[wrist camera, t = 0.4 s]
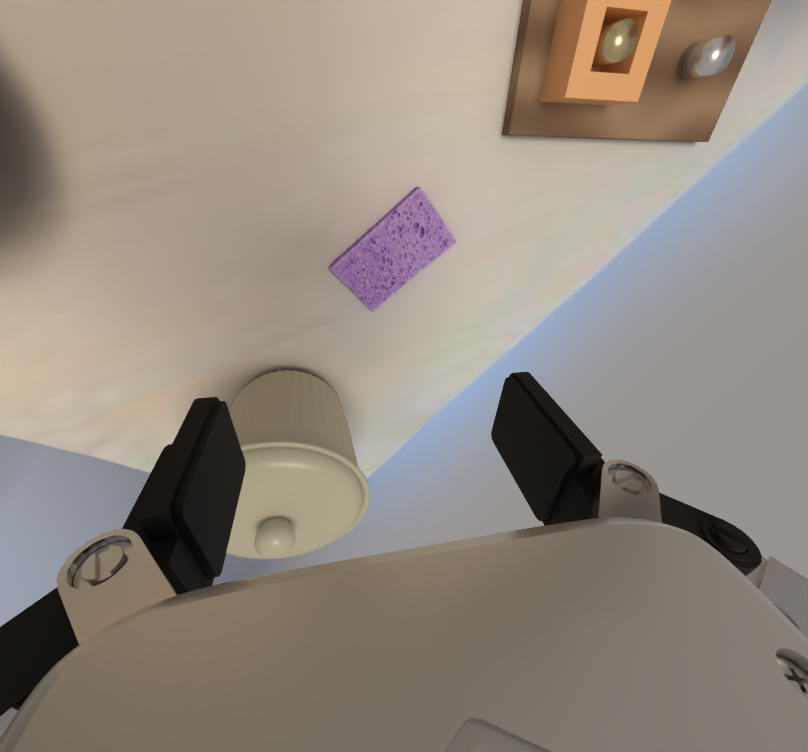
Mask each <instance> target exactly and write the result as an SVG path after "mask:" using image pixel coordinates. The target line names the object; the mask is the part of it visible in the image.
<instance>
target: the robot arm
mask: <svg viewBox="0 0 808 752" xmlns="http://www.w3.org/2000/svg"><path fill="white" fill-rule="evenodd" d="M491 436H492V440H493V442H494V444H495V446H496V447H497V449H498V451H499V453H500V455H501V456H502V458H503V460H504V462H505V463H506V465H507V467H508V469H509V470H510V472H511V474H512V476H513V478H514V479H515V481H516V483H517V485H518V486H519V488H520V490H521V492H522V494H523V495H524V497H525V499H526V501H527V502H528V504H529V506H530V508H531V509H532V511H533V513H534V515H535V516H536V518H537V519H538V520H539V521H543V523H544V525H545V526H540V527H534V528H527V529H521V530H516V531H510V532H504V533H498V534H492V535H486V536H480V537H475V538H468V539H463V540H457V541H452V542H445V543H439V544H434V545H428V546H422V547H417V548H411V549H406V550H399V551H394V552H388V553H382V554H377V555H371V556H366V557H360V558H354V559H349V560H343V561H338V562H332V563H327V564H321V565H315V566H310V567H305V568H299V569H294V570H288V571H282V572H277V573H272V574H267V575H262V576H257V577H252V578H247V579H242V580H237V581H232V582H226V583H222V584H218V585H214V586H212V584H213V580H214V577H218V576H220V574H221V572H222V568H223V564H224V560H225V556H226V551H227V547H228V543H229V539H230V534H231V530H232V526H233V522H234V517H235V513H236V509H237V505H238V500H239V496H240V492H241V488H242V483H243V479H244V475H245V470H246V463H245V458H244V455H243V452H242V449H241V446H240V443H239V440H238V437H237V434H236V431H235V428H234V425H233V422H232V419H231V416H230V413H229V410H228V407H227V404H226V402H225V401H219V399H218V398H217V397H210V398H198V399H195V400H194V402H193V404H192V406H191V408H190V410H189V412H188V414H187V416H186V418H185V420H184V422H183V424H182V426H181V428H180V430H179V432H178V434H177V436H176V438H175V440H174V442H173V444H170V445H167V446H166V447H165V448H164V449H163V451H162V453H161V455H160V456H159V458H158V460H157V462H156V464H155V466H154V468H153V470H152V472H151V474H150V476H149V478H148V480H147V482H146V483H145V485H144V487H143V490H142V491H141V493H140V495H139V497H138V499H137V501H136V503H135V505H134V507H133V509H132V510H131V512H130V515H129V516H128V518H127V520H126V522H125V524H124V526H123V528H122V529H119V530H113V531H109V532H106V533H103V534H101V535H99V536H97V537H95V538H93V539H91V540H89V541H88V542H86V543H85V544H84V545H82V546H81V547H79V548H78V549H77V550H76V551H75V552H74V553H73V554H72V555H71V556H70V557H69V558H68V559H67V561H66V562H65V563H64V565H63V566H62V568H61V569H60V572H59V574H58V577H57V588H56V589H54V590H53V591H51V592H50V593H48V594H47V595H46V596H44V597H43V598H41V599H40V600H38V601H37V602H35V603H34V604H33V605H31V606H30V607H28V608H27V609H25V610H24V611H23V612H21V613H20V614H18V615H17V616H15V617H14V618H13V619H11V620H10V621H8V622H7V623H5V624H4V625H2V626H1V627H0V752H808V579H807V578H805V577H804V576H802V575H800V574H799V573H797V572H795V571H794V570H792V569H790V568H789V567H787V566H786V565H784V564H782V563H780V562H779V561H777V560H776V559H774V558H773V557H771V556H770V557H768V558H767V559H765V558H763V557H762V556H761V554H760V551H759V549H758V547H757V546H756V545H755V543H754V542H753V541H752V540H751V539H750V538H749V537H748V536H747V535H746V534H745V533H744V532H743V531H741V530H740V529H738V528H737V527H735V526H734V525H732V524H730V523H728V522H726V521H724V520H722V519H720V518H717V517H715V516H713V515H710V514H708V513H706V512H703V511H701V510H699V509H696V508H694V507H691V506H689V505H687V504H685V503H682V502H680V501H677V500H675V499H673V498H670V497H668V496H666V495H664V494H661V493H659V489H658V486H657V483H656V482H655V480H654V479H653V477H651V476H650V475H649V474H648V473H647V472H646V471H645V470H643V469H642V468H640V467H639V466H637V465H635V464H633V463H630V462H627V461H623V460H609V461H607V462H606V463H605V462H604V460H603V459H602V458H601V456H602V454H601V453H600V452H599V451H598V449H597V448H596V447H595V446H594V445H593V444H592V443H591V441H590V440H589V439H588V438H587V437H586V436H585V435H584V434H583V433H582V431H581V430H580V429H579V428H578V427H577V426H576V425H575V424H574V423H573V421H572V420H571V419H570V418H569V417H568V416H567V415H566V414H565V412H564V411H563V410H562V409H561V408H560V407H559V406H558V404H557V403H556V402H555V401H554V400H553V399H552V398H551V397H550V395H549V394H548V393H547V392H546V391H545V390H544V389H543V388H542V387H541V385H540V384H539V383H538V382H537V381H536V380H535V379H534V377H533V376H531V374H530V373H529V372H519V373H512V374H510V376H509V377H508V378H506V379H505V382H504V386H503V390H502V393H501V397H500V401H499V405H498V409H497V413H496V417H495V420H494V424H493V428H492V432H491Z"/></svg>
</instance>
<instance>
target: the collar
mask: <svg viewBox="0 0 808 752" xmlns="http://www.w3.org/2000/svg"><path fill="white" fill-rule="evenodd" d="M670 3H671V0H560V4H559V9H558V14H557V19H556V24H555V29H554V34H553V39H552V44H551V49H550V54H549V59H548V64H547V69H546V74H545V79H544V84H543V89H542V94H541V99H540V102H551V103H569V104H587V105H605V106H607V105H616V104H624V103H633V102H638V100H639V97H640V94H641V91H642V88H643V85H644V82H645V79H646V76H647V73H648V70H649V67H650V64H651V61H652V58H653V55H654V52H655V49H656V46H657V43H658V40H659V36H660V33H661V30H662V27H663V24H664V21H665V18H666V15H667V12H668V9H669V6H670ZM627 18H630V19H633V20H634V21H635V22H636V24H637V27H638V37H637V42H636V45H635V47H634V49H633V51H632V52H631V54H630V55H629V56H628V57H627V58H626V59H624V60H623V61H620V62H616V63H612V64H608V65H604V66H601V68H600V72H593V71H591V67H592V63H593V59H594V55H595V51H596V47H597V43H598V39H599V35H600V32H601V28H602V24H603V25H611V24H614V23H616V22H619V21H621V20H624V19H627Z"/></svg>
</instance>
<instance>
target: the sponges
mask: <svg viewBox="0 0 808 752" xmlns="http://www.w3.org/2000/svg"><path fill="white" fill-rule="evenodd" d="M456 242H457V241H456V240H455V238H454V237H453V235H452V234H451V232H450V230H449V229H448V227H447V226H446V224H445V223H444V222H443V221H442V219H441V217H440V215H439V214H438V213H437V211H436V210H435V209H434V207H433V205H432V204H431V202H430V201H429V199H428V197H427V196H426V194H425V193H424V192H423V190H422V189H421V187H416V188H415V189H414V190H413V191H412V192H411V193H410V194H408V195H407V196H406V197H405V198H404V199H403V200H402V201H401V202H399V203H398V204H397V205H396V206H395V207H394V208H393V209H392V210H391V211H390V212H389V213H387V215H385V216H384V217H383V218H382V219H381V220H380V221H379V222H377V223H376V224H375V225H374V226H373V227H372V228H371V229H370V230H368V231H367V232H366V233H365V234H364V235H363V236H362V237H361V238H360V239H359V240H357V241H356V243H354V244H353V245H352V246H351V247H350V248H348V249H347V251H346V252H345V253H343V254H342V255H340V256H339V257H338V258H337V259H336V260H335V261H334V262H333V264H332V265H331V266H330V267H329V268H330V270H331V271H332V272H333V273H334V274H335V275H336V276H337V277H338V278H339V279H340V280H341V281H342V282H343V283H344V284H345V285H346V286H347V287H348V288H350V289H351V290H352V291H353V292H354V293H355V294H356V295H357V296H358V298H360V299H361V300H362V301H363V302H364V304H365V305H366V306H367V307H368V308H369V309H370V310H371V311H374V309H376V308H377V307H378V306H380V305H381V304H382V303H383V302H384V301H385V300H386V299H388V298H389V297H390V296H391V295H392V294H394V293H395V292H396V291H397V290H398V289H399V288H401V287H402V285H403V284H405V283H407V282H408V281H409V280H410V279H412V278H413V277H414V276H415V275H416V274H417V273H418V271H419V270H420V269H424V268H425V267H426V266H428V265H429V264H430V263H431V262H433V261H434V260H435V259H436V258H437V257H438V256H440V255H441V254H443V253H444V252H445V251H446V250H447V249H449V248H450V247H451V246H452V245H453V244H455V243H456Z"/></svg>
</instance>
